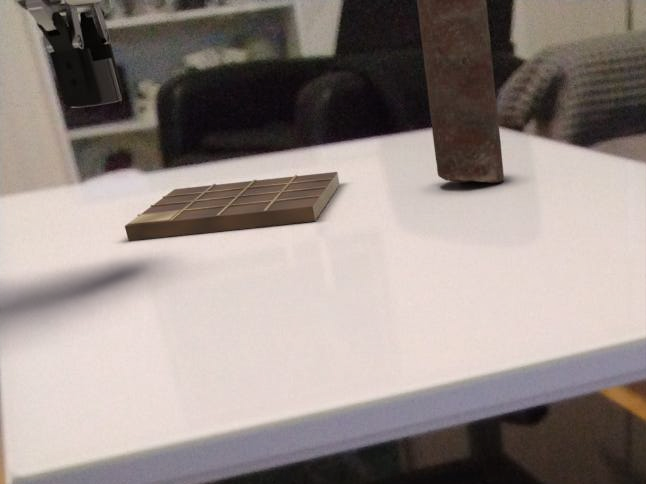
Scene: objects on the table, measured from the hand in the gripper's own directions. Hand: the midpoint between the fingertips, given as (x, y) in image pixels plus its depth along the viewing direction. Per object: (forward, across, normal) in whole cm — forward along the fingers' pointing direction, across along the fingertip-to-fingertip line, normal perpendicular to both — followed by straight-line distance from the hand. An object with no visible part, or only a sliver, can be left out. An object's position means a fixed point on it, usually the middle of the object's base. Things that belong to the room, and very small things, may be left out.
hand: (94, 98), depth 88 cm
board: (+14, -24, +4) cm, 28 cm away
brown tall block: (+14, -26, +30) cm, 42 cm away
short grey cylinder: (0, 0, 0) cm, 0 cm away
